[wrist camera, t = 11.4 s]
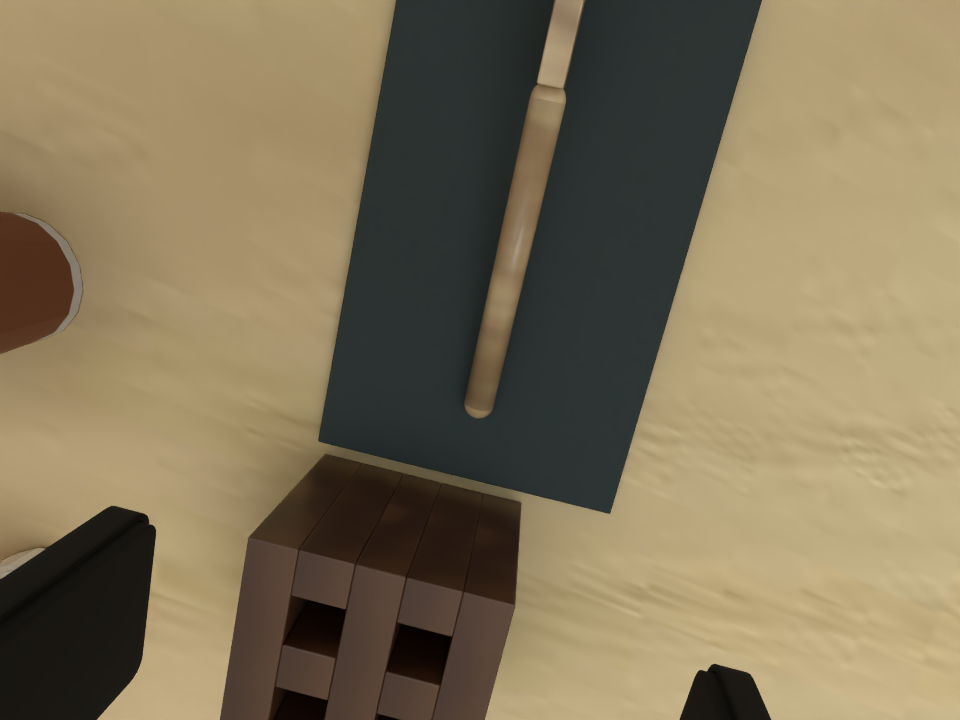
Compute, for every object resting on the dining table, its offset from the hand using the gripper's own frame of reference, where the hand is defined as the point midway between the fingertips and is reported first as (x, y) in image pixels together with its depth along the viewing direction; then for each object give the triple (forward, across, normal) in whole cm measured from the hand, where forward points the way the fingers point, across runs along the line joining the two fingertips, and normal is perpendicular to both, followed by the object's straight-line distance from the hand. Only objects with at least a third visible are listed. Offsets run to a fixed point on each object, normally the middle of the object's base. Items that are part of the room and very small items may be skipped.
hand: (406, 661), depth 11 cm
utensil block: (+21, +2, +12) cm, 24 cm away
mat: (+21, 0, -6) cm, 22 cm away
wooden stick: (+20, +1, +2) cm, 20 cm away
